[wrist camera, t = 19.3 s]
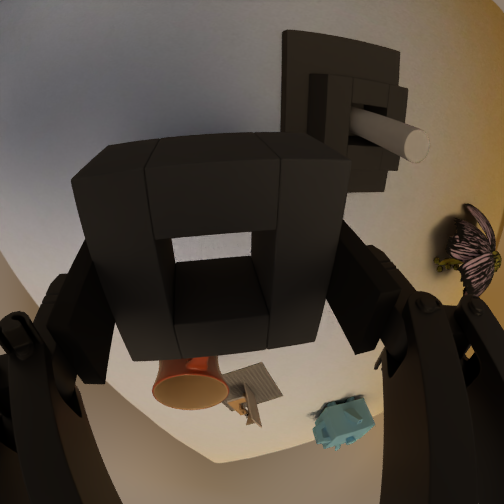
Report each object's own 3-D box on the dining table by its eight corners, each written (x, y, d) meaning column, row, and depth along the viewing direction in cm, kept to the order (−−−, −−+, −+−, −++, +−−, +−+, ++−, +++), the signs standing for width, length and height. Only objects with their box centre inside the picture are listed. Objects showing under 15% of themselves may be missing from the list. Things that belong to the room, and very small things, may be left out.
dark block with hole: (308, 73, 21) (327, 73, 18) (383, 84, 23) (408, 88, 19) (305, 156, 26) (321, 169, 23) (375, 158, 27) (397, 171, 24)
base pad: (281, 31, 20) (345, 6, 10) (391, 51, 22) (479, 59, 12) (278, 189, 29) (324, 257, 19) (377, 187, 31) (444, 242, 21)
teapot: (374, 383, 61) (392, 420, 52) (348, 415, 71) (361, 447, 62) (317, 397, 58) (333, 439, 49) (298, 427, 68) (309, 462, 59)
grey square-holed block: (107, 145, 10) (69, 179, 7) (306, 132, 11) (352, 160, 8) (140, 299, 14) (132, 361, 11) (290, 285, 16) (315, 341, 12)
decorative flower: (512, 278, 34) (475, 335, 31) (463, 263, 44) (420, 310, 41) (511, 198, 29) (476, 247, 26) (454, 191, 40) (407, 232, 36)
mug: (210, 351, 41) (218, 411, 33) (151, 343, 38) (149, 406, 30) (234, 291, 36) (249, 360, 27) (163, 280, 33) (159, 351, 24)
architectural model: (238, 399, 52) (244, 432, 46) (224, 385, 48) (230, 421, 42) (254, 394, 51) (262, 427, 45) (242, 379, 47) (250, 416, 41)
